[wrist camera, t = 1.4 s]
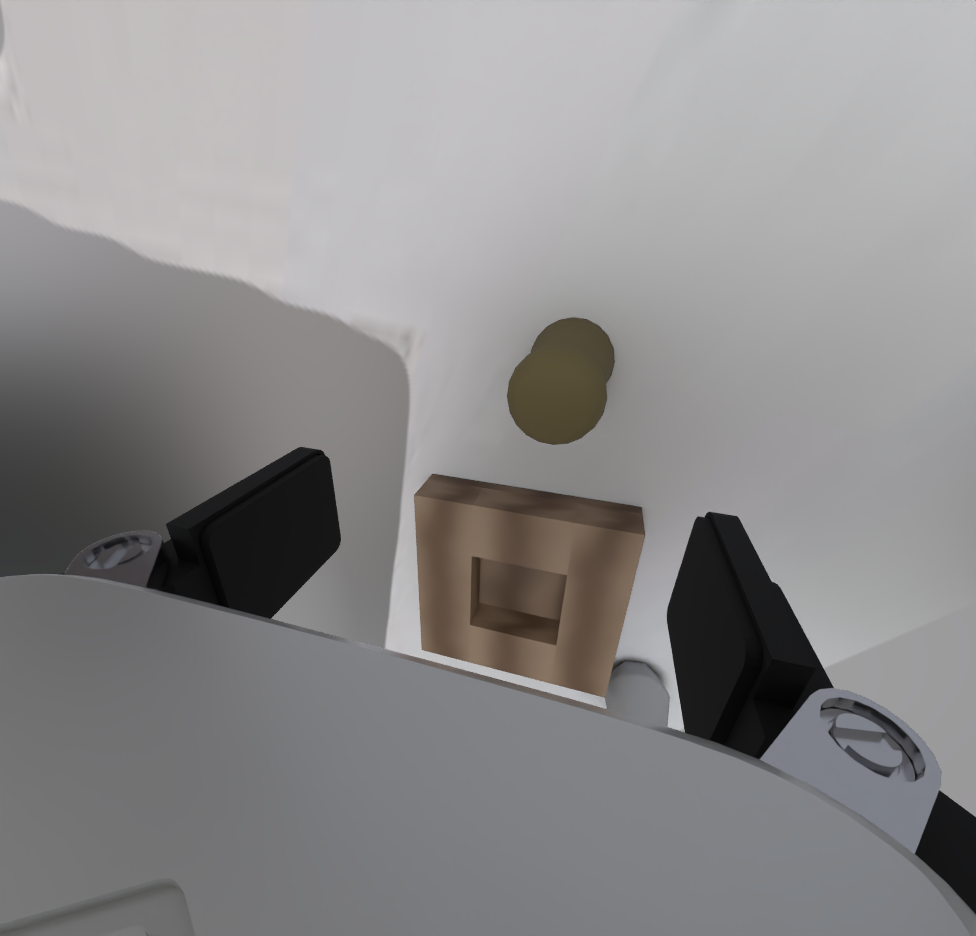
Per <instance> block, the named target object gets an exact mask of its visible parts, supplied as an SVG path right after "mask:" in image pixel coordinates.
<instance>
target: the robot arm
mask: <svg viewBox="0 0 976 936" xmlns="http://www.w3.org/2000/svg"><path fill="white" fill-rule="evenodd" d="M166 526H167V528H168V531H169V534H170V537H171V539H170V540H169V541H167V542H165V543H164V542H163V540H162V537H161V536H160V535H159V534H158V533H154V532H152V531H133V532H126V533H122V534H118V535H114V536H111V537H108V538H106V539H103V540H100V541H99V542H96V543H94V544H92V545H90V546H89V547H87V548H86V549H84V550H83V551H82V552H80V553H79V554H78V555H77V556H76V557H75V558H74V559H73V561H72V562H71V564H70V566H69V567H68V569H67V570H66V572H65V573H63V574H58V575H51V574H36V575H23V576H22V575H21V576H9V577H0V936H976V817H975V816H973V815H972V814H970V813H969V812H968V811H967V810H965V809H964V808H963V807H961V806H960V805H958V804H957V803H956V802H954V801H953V800H952V799H950V798H949V797H948V796H946V795H945V794H944V793H942V792H941V791H940V790H939V789H940V787H941V769H940V767H939V765H938V762H937V760H936V757H935V755H934V754H933V752H932V751H931V750H930V749H929V747H928V746H927V745H926V743H925V742H924V740H923V739H922V738H921V737H920V736H919V735H918V734H917V733H916V732H915V731H914V730H913V729H912V728H910V727H909V725H908V724H906V723H905V722H904V721H903V720H901V719H900V718H899V717H897V716H896V715H894V714H893V713H892V712H890V711H889V710H888V709H886V708H885V707H883V706H881V705H879V704H877V703H876V702H874V701H872V700H870V699H868V698H866V697H863V696H861V695H858V694H855V693H853V692H850V691H847V690H840V689H835V688H834V687H833V686H832V684H831V682H830V680H829V678H828V676H827V674H826V672H825V670H824V669H823V667H822V665H821V663H820V661H819V659H818V657H817V655H816V654H815V652H814V650H813V648H812V646H811V644H810V642H809V640H808V639H807V637H806V635H805V633H804V631H803V629H802V627H801V625H800V624H799V622H798V620H797V618H796V616H795V614H794V612H793V610H792V609H791V607H790V605H789V603H788V601H787V599H786V597H785V595H784V594H783V592H782V590H781V588H780V587H779V586H778V584H776V583H774V582H771V580H770V578H769V576H768V574H767V572H766V570H765V568H764V566H763V564H762V562H761V560H760V558H759V556H758V554H757V553H756V551H755V549H754V547H753V545H752V543H751V541H750V539H749V537H748V535H747V533H746V531H745V529H744V527H743V525H742V523H741V521H740V520H739V518H738V517H737V516H732V515H726V514H719V513H713V512H708V513H707V514H706V516H705V518H704V517H697V518H696V520H695V522H694V525H693V528H692V532H691V535H690V538H689V541H688V544H687V548H686V551H685V554H684V557H683V560H682V564H681V567H680V570H679V573H678V576H677V580H676V583H675V586H674V589H673V592H672V596H671V599H670V602H669V605H668V610H667V624H668V630H669V636H670V642H671V648H672V655H673V661H674V667H675V673H676V679H677V685H678V692H679V698H680V704H681V710H682V716H683V723H684V729H685V733H684V732H681V731H678V730H675V729H672V728H669V727H666V726H663V725H659V724H656V723H652V722H649V721H646V720H642V719H639V718H635V717H632V716H628V715H625V714H621V713H618V712H614V711H611V710H607V709H604V708H600V707H597V706H593V705H590V704H586V703H583V702H579V701H576V700H572V699H569V698H565V697H561V696H558V695H554V694H550V693H547V692H543V691H539V690H536V689H532V688H528V687H524V686H521V685H517V684H513V683H510V682H506V681H502V680H499V679H495V678H491V677H488V676H484V675H480V674H476V673H473V672H469V671H465V670H462V669H458V668H454V667H451V666H447V665H443V664H440V663H436V662H432V661H428V660H425V659H421V658H417V657H413V656H409V655H406V654H402V653H398V652H394V651H391V650H387V649H383V648H379V647H376V646H372V645H368V644H364V643H360V642H357V641H353V640H349V639H345V638H342V637H337V636H334V635H330V634H326V633H323V632H318V631H315V630H311V629H307V628H304V627H300V626H296V625H292V624H288V623H284V622H280V621H276V620H273V619H271V618H272V617H273V616H274V614H276V613H277V612H278V611H279V610H280V608H282V607H283V605H284V604H285V603H286V602H287V601H288V600H289V599H290V598H291V597H292V596H293V595H294V594H295V593H296V592H297V591H298V590H299V589H300V588H301V587H302V585H304V584H305V583H306V582H307V581H308V580H309V579H310V577H312V575H313V574H314V573H315V572H316V571H317V570H318V569H319V568H320V567H321V566H322V565H323V564H324V563H325V562H326V561H327V560H328V559H329V558H330V557H331V556H332V555H333V554H334V553H335V552H336V551H337V549H338V547H339V545H340V542H341V535H340V529H339V521H338V514H337V507H336V500H335V493H334V486H333V479H332V472H331V465H330V460H329V458H328V457H327V456H325V454H324V452H323V451H321V450H317V449H311V448H305V447H299V448H297V449H295V450H293V451H292V452H290V453H288V454H287V455H285V456H283V457H281V458H280V459H278V460H276V461H274V462H273V463H271V464H269V465H267V466H266V467H264V468H262V469H260V470H259V471H257V472H256V473H254V474H252V475H250V476H248V477H247V478H245V479H243V480H241V481H240V482H238V483H236V484H234V485H233V486H231V487H229V488H227V489H226V490H224V491H222V492H221V493H219V494H217V495H215V496H214V497H212V498H210V499H208V500H207V501H205V502H203V503H201V504H200V505H198V506H196V507H195V508H193V509H191V510H189V511H188V512H186V513H184V514H183V515H181V516H179V517H177V518H175V519H174V520H172V521H170V522H169V523H167V524H166Z"/></svg>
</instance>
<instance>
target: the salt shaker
mask: <svg viewBox="0 0 976 936" xmlns="http://www.w3.org/2000/svg"><path fill="white" fill-rule="evenodd" d="M605 700H606V706H607V710H611V711H614V712H618V713H621V714H625V715H628V716H632V717H635V718H639V719H642V720H646V721H649V722H652V723H656V724H659V725H663V726H666V727H667V725H668V712H669V700H670V697H669V694H668V692H667V690H666V688H665V687H664V685H663V684H662V682H661V681H660V679H659V677H658V676H657V674H655V673H654V672H653V671H652V670H651V669H650V668H649V667H648V666H647V665H646V664H645V663H640V662H630V661H624V662H623V663H621V664H620V665H619V666H618V667H616V668H615V669H614V670H613V671H612V673H611V676H610V680H609V684H608V688H607V692H606V696H605Z"/></svg>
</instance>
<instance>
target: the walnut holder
mask: <svg viewBox="0 0 976 936" xmlns="http://www.w3.org/2000/svg"><path fill="white" fill-rule="evenodd" d="M414 502H415V522H416V543H417V563H418V583H419V603H420V623H421V643H422V650H424V651H428V652H432V653H436V654H440V655H444V656H447V657H451V658H455V659H459V660H463V661H467V662H470V663H474V664H478V665H482V666H486V667H490V668H493V669H497V670H501V671H505V672H509V673H513V674H517V675H520V676H524V677H528V678H532V679H536V680H540V681H543V682H547V683H551V684H555V685H559V686H563V687H566V688H570V689H574V690H578V691H582V692H586V693H590V694H593V695H597V696H601V697H605V696H606V692H607V688H608V684H609V680H610V676H611V671H612V667H613V663H614V659H615V655H616V651H617V647H618V643H619V639H620V635H621V631H622V627H623V623H624V619H625V615H626V611H627V607H628V603H629V599H630V595H631V591H632V587H633V583H634V579H635V574H636V570H637V566H638V562H639V558H640V554H641V550H642V546H643V542H644V538H645V530H644V521H643V513H642V507H636V506H630V505H624V504H617V503H611V502H605V501H599V500H592V499H586V498H580V497H574V496H567V495H561V494H555V493H549V492H542V491H536V490H530V489H524V488H517V487H511V486H505V485H499V484H492V483H486V482H480V481H474V480H467V479H461V478H455V477H448V476H442V475H436V474H432V475H431V476H430V478H429V479H428V480H427V481H426V482H425V483H424V484H423V486H422V487H421V488H420V489H419V490H418V491H417V492H416V494H415V495H414Z"/></svg>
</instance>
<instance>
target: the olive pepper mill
mask: <svg viewBox="0 0 976 936" xmlns="http://www.w3.org/2000/svg"><path fill="white" fill-rule="evenodd" d="M614 362H615V361H614V348H613V346H612V344H611V341H610V339H609V337H608V335H607V334H606V333H605V332H604V331H603V330H602V329H601V328H600V327H599V326H598V325H596V324H594V323H592V322H591V321H589V320H587V319H580V318H567V319H562V320H558V321H556V322H555V323H553V324H551V325H549V326H547V327H546V328H545V329H544V330H543V331H542V332H541V334H540V335H539V336H538V337H537V339H536V341H535V343H534V345H533V347H532V350H531V353H530V354H529V355H528V356H526V358H525V359H524V360H523V361H522V362H521V363H520V364H519V365H518V366H517V367H516V368H515V370H514V372H513V374H512V376H511V378H510V380H509V387H508V394H507V399H508V405H509V410H510V414H511V415H512V417H513V419H514V421H515V423H516V425H517V426H518V427H519V428H520V429H521V430H522V431H523V432H524V433H525V434H526V435H527V436H529V437H531V438H533V439H535V440H537V441H539V442H543V443H547V444H552V445H555V444H567V443H570V442H572V441H575V440H577V439H580V438H582V437H583V436H584V435H585V434H587V433H588V432H589V431H590V430H592V429H593V428H594V427H595V426H596V424H597V423H598V421H599V420H600V418H601V416H602V415H603V413H604V409H605V405H606V401H607V391H606V383H607V381H608V380H609V378H610V376H611V374H612V370H613V366H614Z"/></svg>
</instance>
